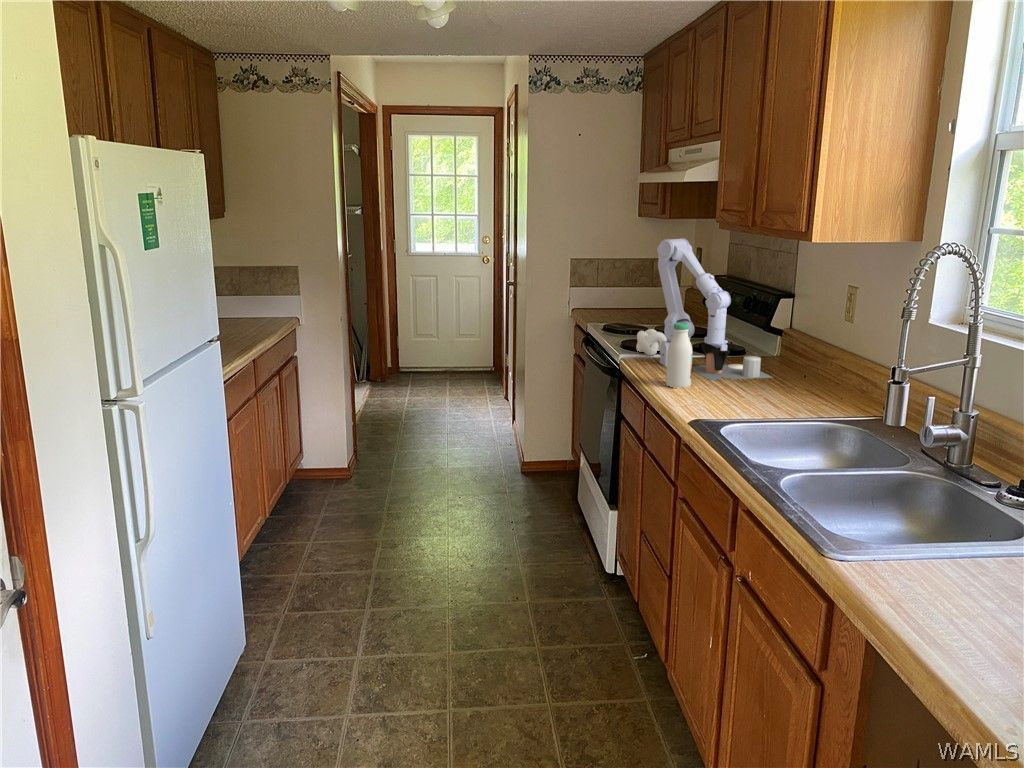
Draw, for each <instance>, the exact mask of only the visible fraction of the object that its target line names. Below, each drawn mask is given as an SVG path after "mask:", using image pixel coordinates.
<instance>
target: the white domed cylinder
mask: <svg viewBox="0 0 1024 768" xmlns="http://www.w3.org/2000/svg"><path fill="white" fill-rule="evenodd" d="M761 363H762V357H761V356H756V355H747V356H743V361H742V364H743V372H742V375H743V376H745V377H759V376H760V371H761Z"/></svg>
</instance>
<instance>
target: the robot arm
mask: <svg viewBox="0 0 1024 768" xmlns="http://www.w3.org/2000/svg"><path fill="white" fill-rule="evenodd" d="M656 250H657V255H658V261H657V268H658V275H659V278H660V282H661V288H662V291H663V292H662V293H663V297H664V301H665V305H666V306H665V307H666V311H667V316H666V317H665V320H664V321H663V324H664V330H663V331H664V333H663V334H664V335H665V336H666V338H667V341H663V342H662V343H661V350H660V352H659V356H660V357H659V361H658V362H659V363H660V364H661V365H663V366H664V367H665V368H667V354H668V347H669V344H670V342H671V340H672V338H673V335H674V324H675V323H688V324H689V331H688V337H689V340H691V337H692V336H694V333H695V326H694V323H693V321H692V320H691V317H690V315H689V314H688V313H686V312H685V311H684V306H683V305H684V304H683V300H682V295H681V291H680V287H679V283H678V277H677V273H676V272H677V271H676V266H677V264H678V263H679V262H682V263H683V264H684V265H685V267H686V268H687V269H688V270H689V272H690V273H691V274H692V275H693V276H694V278H695V279H696V280H695V285H696V286H697V288H698V289H699V291H700V292H701V294H702V295H703V296H704V298H705V299H706V300H705V305H706V308H707V313H708V317H707V318H708V319H707V320H708V321H707V334H706V336H704V344H701V345H700V347H701V349H702V351H703V354H704V359H705V360H704V361H706V355H707V353H713V356H714V363H715V370H716V371H717V370H722V368H723V365H725V363H726V362H725V361H726V360H727V357H728V356H729V354H730V352H731V350H729V349H728V344H727V343H729V340H727V339H725V338H726V325H727V311H728V310H727V308H728V307H729V306H730V305H731V303H732V298H731V295H730V293H729V292H728V291H726V290H723V288H722V286H721V287H720V286H719V284H718V283H717V281H716V279H715V276H714V275H712V274H711V273H709V272H708V273H706V272H705V270H704V268H703V267H702V266H701V263H700V262H699V260H698V258H697V257H696V255H695V254H694V251H693V246H692V245H691V244H690V242H689V240H687V238H683V237H681V238H674V239H673V238H671V239H669V238H664V239H662V240H661V242H660V243H659V245H658V246H657V249H656Z"/></svg>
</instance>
